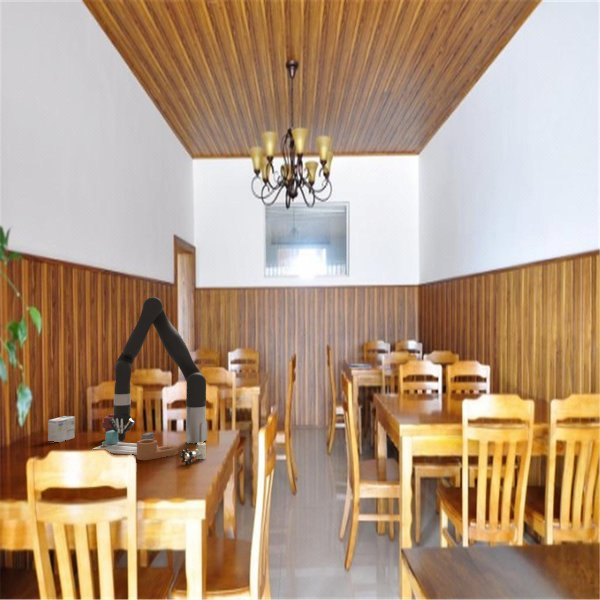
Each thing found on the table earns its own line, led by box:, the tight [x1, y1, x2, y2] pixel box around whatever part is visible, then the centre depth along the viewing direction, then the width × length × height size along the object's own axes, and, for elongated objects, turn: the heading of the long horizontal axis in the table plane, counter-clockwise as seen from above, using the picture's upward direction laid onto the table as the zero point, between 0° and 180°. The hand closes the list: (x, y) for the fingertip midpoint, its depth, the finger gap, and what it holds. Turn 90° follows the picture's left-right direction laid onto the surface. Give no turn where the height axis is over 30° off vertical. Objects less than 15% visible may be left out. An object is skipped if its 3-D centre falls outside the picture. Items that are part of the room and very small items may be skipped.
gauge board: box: [92, 442, 159, 456], centre depth 223 cm, size 25×13×2 cm, turn 75°
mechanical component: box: [101, 413, 114, 436], centre depth 242 cm, size 12×10×10 cm
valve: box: [179, 442, 207, 466], centre depth 205 cm, size 7×7×12 cm
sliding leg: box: [101, 430, 121, 447], centre depth 226 cm, size 4×9×5 cm, turn 166°
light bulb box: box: [47, 415, 76, 443], centre depth 241 cm, size 11×7×11 cm, turn 160°
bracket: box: [136, 438, 179, 461], centre depth 214 cm, size 18×8×7 cm, turn 127°
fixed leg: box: [141, 431, 155, 440], centre depth 221 cm, size 3×9×6 cm, turn 165°
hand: (121, 440), depth 227 cm, fingers closed
